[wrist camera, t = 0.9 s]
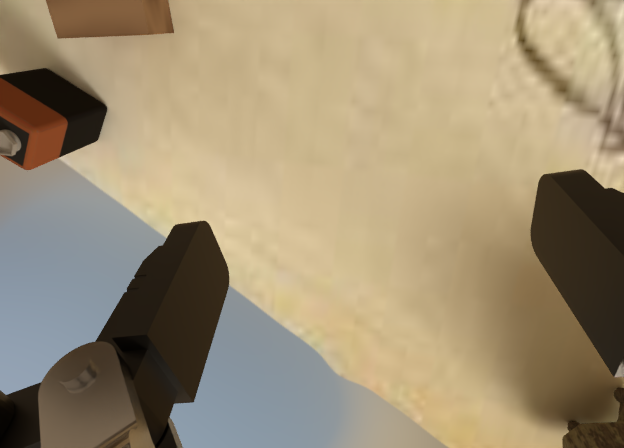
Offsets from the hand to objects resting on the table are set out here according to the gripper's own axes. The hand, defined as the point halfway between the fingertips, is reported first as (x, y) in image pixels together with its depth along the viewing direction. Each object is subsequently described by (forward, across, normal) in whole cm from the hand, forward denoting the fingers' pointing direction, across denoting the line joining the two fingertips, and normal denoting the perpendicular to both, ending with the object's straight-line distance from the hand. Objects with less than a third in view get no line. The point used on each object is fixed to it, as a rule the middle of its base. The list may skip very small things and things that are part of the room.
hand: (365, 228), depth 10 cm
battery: (+29, +27, +2) cm, 40 cm away
